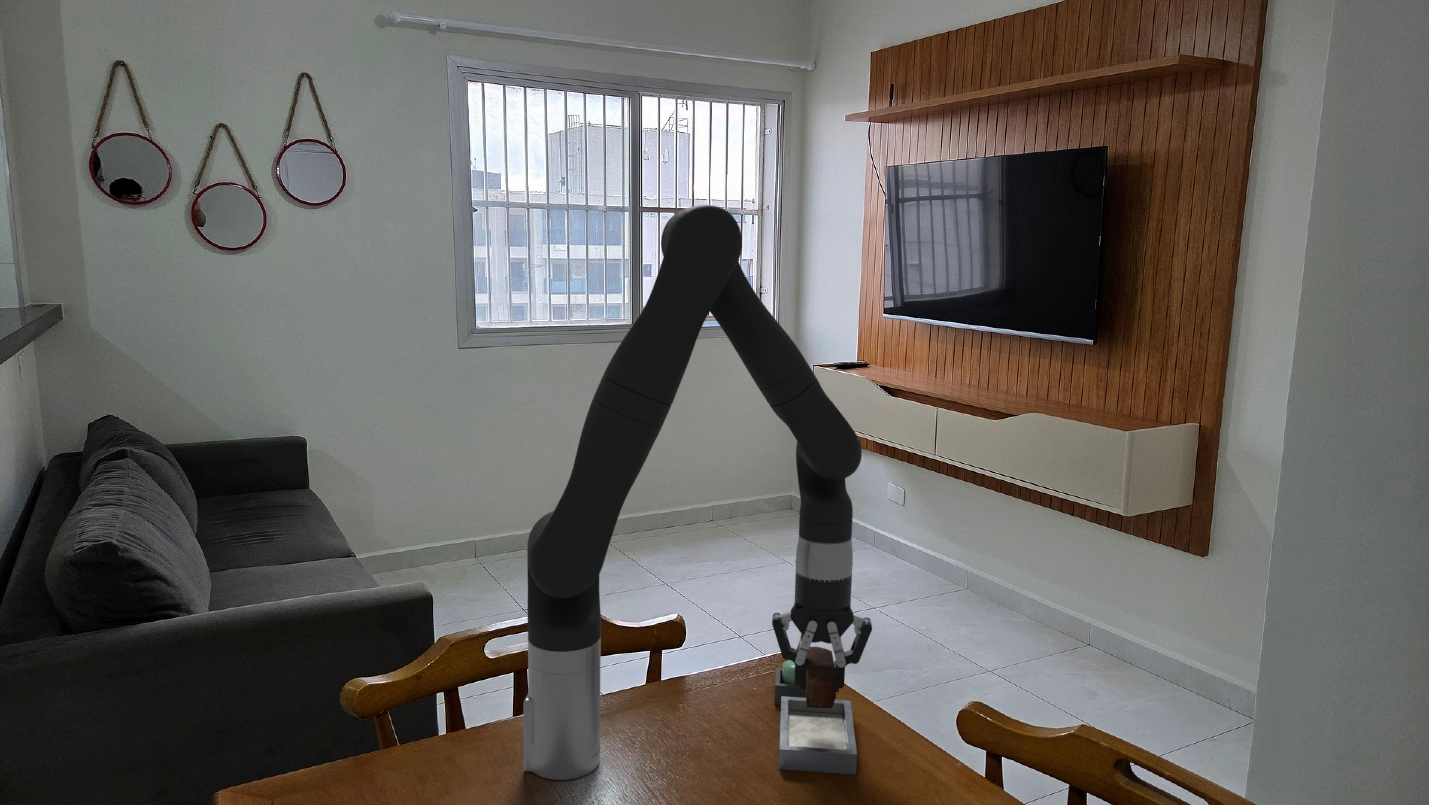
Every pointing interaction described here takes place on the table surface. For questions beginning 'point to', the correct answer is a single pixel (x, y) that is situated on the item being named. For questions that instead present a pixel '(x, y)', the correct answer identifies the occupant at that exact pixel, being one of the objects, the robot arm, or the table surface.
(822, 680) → the brick
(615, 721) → the table surface
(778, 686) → the button box
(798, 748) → the tray
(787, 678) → the button
